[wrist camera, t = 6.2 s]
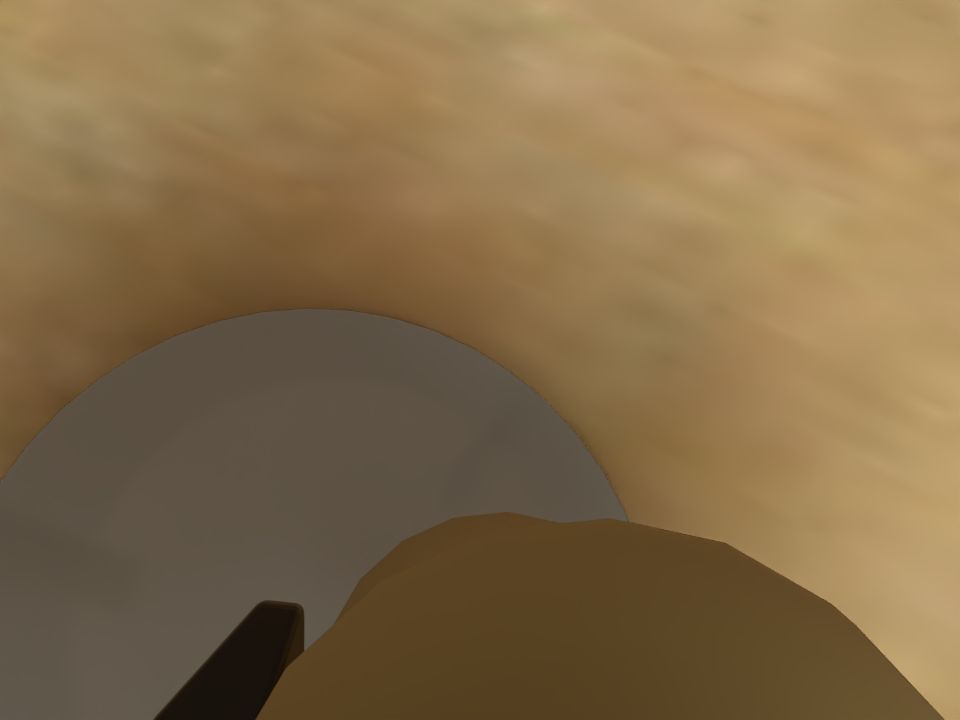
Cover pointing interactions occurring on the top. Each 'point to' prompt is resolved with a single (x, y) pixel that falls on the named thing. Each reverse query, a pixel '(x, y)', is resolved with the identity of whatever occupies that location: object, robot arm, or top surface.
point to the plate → (252, 494)
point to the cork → (586, 634)
